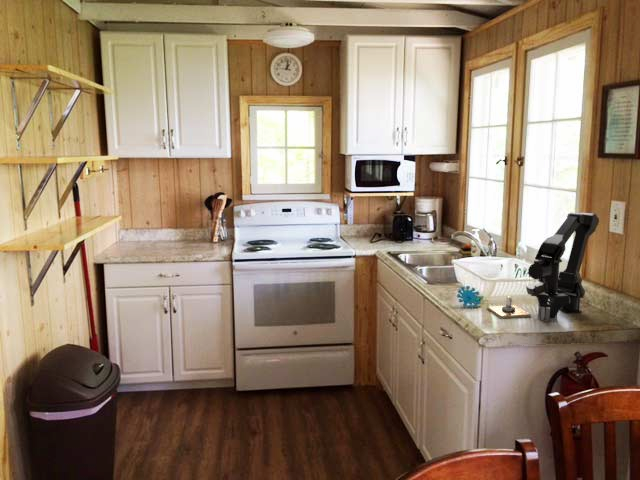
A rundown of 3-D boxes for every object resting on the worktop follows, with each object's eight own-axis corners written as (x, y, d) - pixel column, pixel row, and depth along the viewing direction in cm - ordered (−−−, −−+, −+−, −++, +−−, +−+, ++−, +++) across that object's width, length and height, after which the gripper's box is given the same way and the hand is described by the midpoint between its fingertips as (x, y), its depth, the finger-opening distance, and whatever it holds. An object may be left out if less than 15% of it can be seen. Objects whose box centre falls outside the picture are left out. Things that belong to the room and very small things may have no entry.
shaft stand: (515, 307, 221) (516, 292, 220) (530, 316, 210) (531, 300, 208) (487, 308, 220) (487, 293, 219) (500, 318, 208) (501, 301, 207)
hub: (550, 315, 211) (551, 302, 210) (560, 320, 205) (561, 307, 204) (534, 316, 210) (535, 303, 209) (543, 321, 204) (544, 308, 203)
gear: (459, 305, 219) (456, 283, 225) (454, 312, 224) (452, 290, 230) (485, 308, 220) (483, 286, 226) (480, 315, 225) (477, 293, 231)
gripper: (517, 270, 212) (515, 309, 215) (543, 282, 194) (540, 324, 197) (544, 269, 214) (541, 307, 217) (572, 281, 196) (569, 323, 198)
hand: (547, 315), depth 207 cm, fingers closed on hub, 7 cm apart
